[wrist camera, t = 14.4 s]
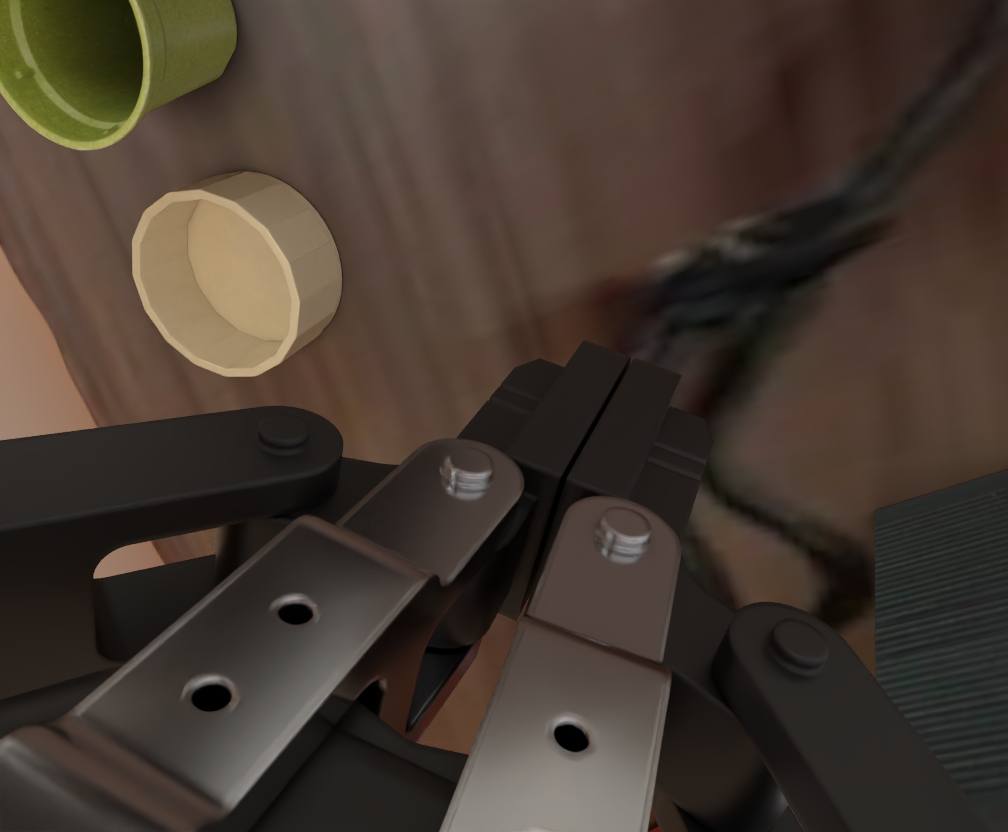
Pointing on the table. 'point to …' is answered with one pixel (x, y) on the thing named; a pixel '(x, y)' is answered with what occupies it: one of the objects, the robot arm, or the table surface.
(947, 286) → the table surface
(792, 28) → the table surface
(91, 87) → the plant pot
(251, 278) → the beige round bowl
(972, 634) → the cassette player
